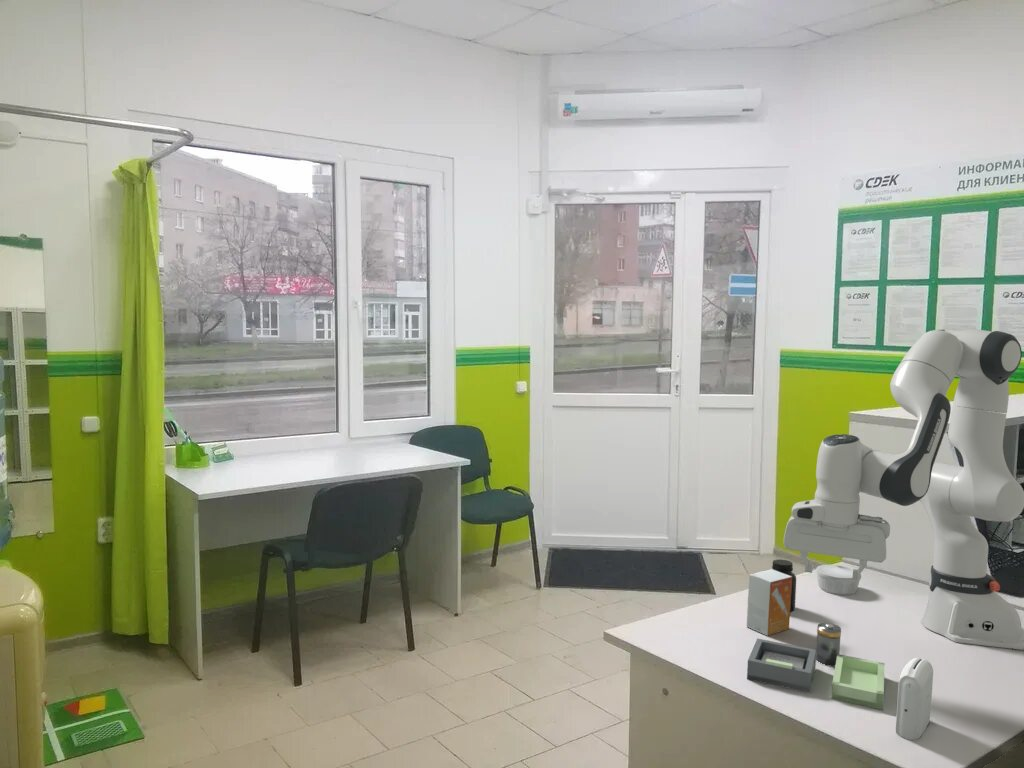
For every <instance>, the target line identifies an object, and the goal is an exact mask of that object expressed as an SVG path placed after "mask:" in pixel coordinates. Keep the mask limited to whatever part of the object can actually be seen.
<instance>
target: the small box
mask: <svg viewBox="0 0 1024 768" xmlns="http://www.w3.org/2000/svg"><path fill="white" fill-rule="evenodd" d="M791 588H792V576H789V575H786V574H784V573H781V572H778V571H775V570H773V569H772V568H770V569H767V570H766V569H765V570H761V571H758V572H754V573H751V574H749V575H748V593H747V596H748V597H747V611H746V626H747V627H746V628H748V627H749V628H748V629H750V628H751V629H750V630H752V629H753V630H752V631H754V630H756V631H755V632H757V631H758V632H757V633H759V632H760V633H759V634H761V633H762V635H764V636H766V635H767V636H766V637H768V635H769V636H771V635H775V634H777V633H779V632H780V631H781V632H783V630H784V631H787V629H788V630H789V628H790V618H791V617H790V616H791V612H790V604H791Z"/></svg>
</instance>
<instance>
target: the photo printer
mask: <svg viewBox="0 0 1024 768" xmlns="http://www.w3.org/2000/svg"><path fill="white" fill-rule="evenodd" d="M933 681H934V668H933V665H932V664H931V662H930V661H929V660H928V659H923V658H921V657H915V658H912V659H910V660H909V661H908V662H907V663H906V664H905V666H903V668H902V671H901V673H900V676H899V680H898V689H897V701H896V702H897V705H896V717H895V719H896V720H895V733H896V734H897V735H898V736H899V737H900V738H903V739H904V740H905V739H906V740H909V741H915V740H919V739H920V737H922V735H923V734H924V732H925V730H926V729H927V727H928V724H929V722H930V718H931V712H932V710H931V709H932V696H933V684H934V683H933Z"/></svg>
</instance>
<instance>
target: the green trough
mask: <svg viewBox="0 0 1024 768" xmlns="http://www.w3.org/2000/svg"><path fill="white" fill-rule="evenodd" d="M885 665H886V664H885V662H881V661H875V660H869V659H866V658H860V657H856V656H850V655H846V654H845V655H844V654H840V653H839V654H837V659H836V665H835V666H834V672H833V678H832V684H831V699H832V700H835V701H841V702H845V703H850V704H854V705H859V706H862V707H869V708H871V709H877V710H882V711H883V709H884V707H883V706H884V696H885V695H884V693H885V691H884V688H885Z"/></svg>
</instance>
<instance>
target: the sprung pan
mask: <svg viewBox="0 0 1024 768" xmlns="http://www.w3.org/2000/svg"><path fill="white" fill-rule="evenodd" d="M767 659H771V660H776V661H781V662H786V663H791V664H793V667H796V668H801V669H803V667H804V663H805V659H803V658H798V657H793V656H788V655H783V654H778V653H773V652H768V651H765V652H764V655H763V658H762V661H766V660H767Z"/></svg>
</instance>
